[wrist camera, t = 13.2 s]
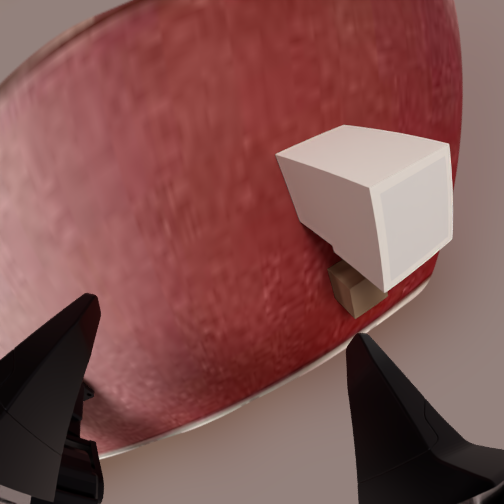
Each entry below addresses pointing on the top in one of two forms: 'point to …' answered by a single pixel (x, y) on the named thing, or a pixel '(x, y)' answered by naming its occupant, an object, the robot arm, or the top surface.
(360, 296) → the walnut block
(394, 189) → the white notched block
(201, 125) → the top surface
